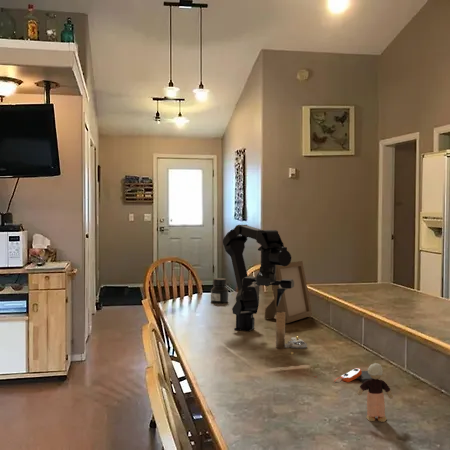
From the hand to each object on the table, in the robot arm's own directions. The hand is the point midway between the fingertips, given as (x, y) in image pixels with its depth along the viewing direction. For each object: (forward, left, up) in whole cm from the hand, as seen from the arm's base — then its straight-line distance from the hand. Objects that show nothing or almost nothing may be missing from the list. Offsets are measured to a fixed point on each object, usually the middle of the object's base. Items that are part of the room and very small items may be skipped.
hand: (267, 305), depth 195 cm
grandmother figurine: (+44, -65, -12) cm, 79 cm away
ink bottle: (-44, +65, -12) cm, 79 cm away
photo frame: (-2, +37, -12) cm, 39 cm away
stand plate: (+14, -12, -12) cm, 22 cm away
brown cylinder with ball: (+12, -13, -11) cm, 21 cm away
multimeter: (+34, -40, -13) cm, 54 cm away
